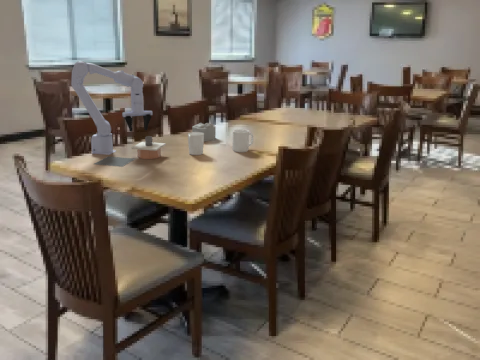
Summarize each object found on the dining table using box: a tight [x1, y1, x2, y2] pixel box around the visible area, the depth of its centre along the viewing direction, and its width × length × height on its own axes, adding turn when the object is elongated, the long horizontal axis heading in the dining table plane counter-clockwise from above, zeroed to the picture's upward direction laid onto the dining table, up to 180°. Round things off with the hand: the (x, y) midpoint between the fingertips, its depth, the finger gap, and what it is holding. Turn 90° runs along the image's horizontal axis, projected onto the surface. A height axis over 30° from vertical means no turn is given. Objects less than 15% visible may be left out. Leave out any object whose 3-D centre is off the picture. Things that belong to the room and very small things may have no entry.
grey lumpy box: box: [191, 122, 217, 142], centre depth 253 cm, size 10×13×9 cm
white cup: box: [187, 131, 205, 156], centre depth 221 cm, size 8×8×10 cm
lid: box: [131, 135, 167, 151], centre depth 212 cm, size 12×12×5 cm
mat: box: [93, 155, 136, 168], centre depth 204 cm, size 14×14×1 cm
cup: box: [231, 128, 254, 153], centre depth 230 cm, size 8×12×10 cm
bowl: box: [136, 148, 162, 160], centre depth 213 cm, size 10×10×5 cm
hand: (138, 130), depth 221 cm, fingers open, 7 cm apart
